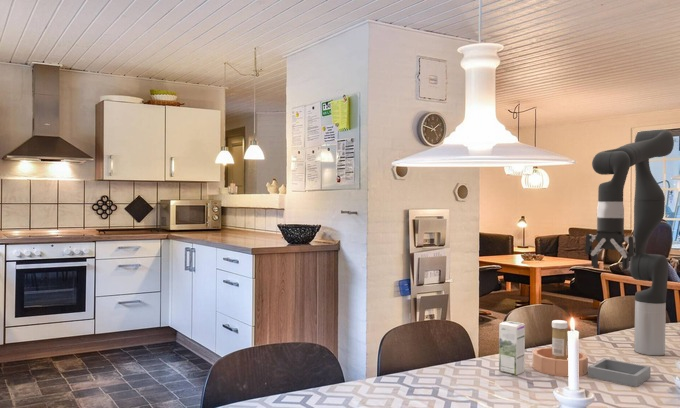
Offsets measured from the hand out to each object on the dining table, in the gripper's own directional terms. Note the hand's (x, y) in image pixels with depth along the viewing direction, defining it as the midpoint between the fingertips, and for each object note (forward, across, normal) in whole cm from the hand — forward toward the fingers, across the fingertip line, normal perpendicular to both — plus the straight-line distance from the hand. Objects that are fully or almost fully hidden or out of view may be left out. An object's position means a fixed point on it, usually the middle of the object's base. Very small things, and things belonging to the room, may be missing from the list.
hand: (609, 269), depth 181 cm
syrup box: (+30, +19, +26) cm, 44 cm away
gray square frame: (+30, -6, +9) cm, 32 cm away
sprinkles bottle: (+29, +10, +13) cm, 33 cm away
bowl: (+30, +10, +13) cm, 34 cm away
